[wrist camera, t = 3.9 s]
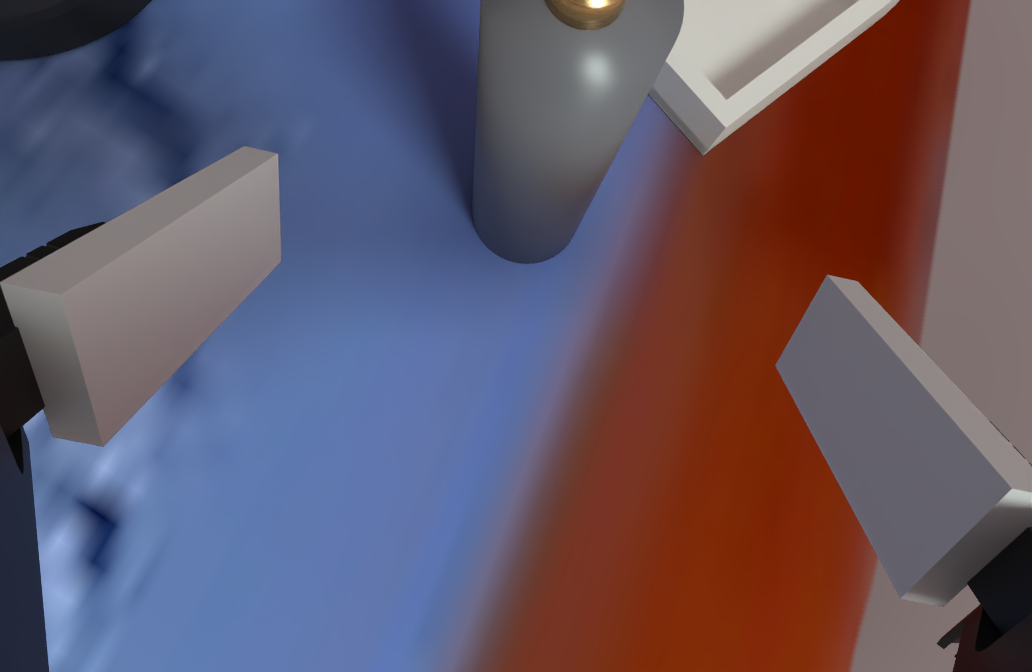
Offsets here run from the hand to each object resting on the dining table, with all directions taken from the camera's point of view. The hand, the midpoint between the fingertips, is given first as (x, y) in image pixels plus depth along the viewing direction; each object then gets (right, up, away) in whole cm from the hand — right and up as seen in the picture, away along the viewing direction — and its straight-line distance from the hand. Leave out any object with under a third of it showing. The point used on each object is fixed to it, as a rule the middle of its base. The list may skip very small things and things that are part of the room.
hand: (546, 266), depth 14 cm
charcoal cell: (0, +4, +13) cm, 14 cm away
